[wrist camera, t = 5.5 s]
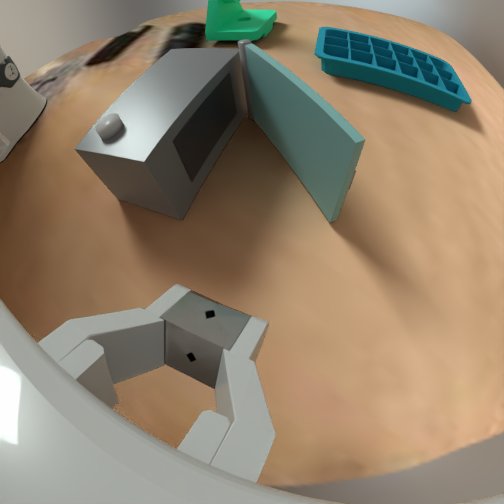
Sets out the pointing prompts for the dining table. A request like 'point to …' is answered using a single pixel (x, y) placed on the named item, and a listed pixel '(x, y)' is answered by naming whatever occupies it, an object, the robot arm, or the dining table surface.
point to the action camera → (168, 129)
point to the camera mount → (236, 21)
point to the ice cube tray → (390, 66)
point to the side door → (301, 128)
